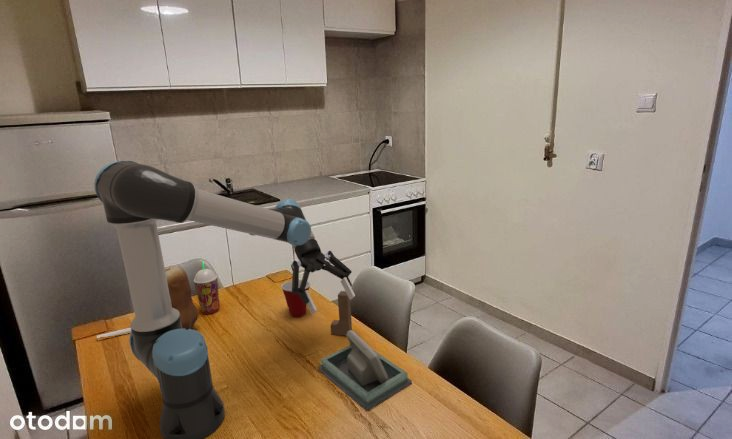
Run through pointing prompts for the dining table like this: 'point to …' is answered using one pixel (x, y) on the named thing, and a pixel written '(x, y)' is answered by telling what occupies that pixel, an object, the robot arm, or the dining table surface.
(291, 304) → the plastic cup
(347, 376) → the keeper tray
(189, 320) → the butternut squash
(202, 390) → the robot arm
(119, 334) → the marker
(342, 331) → the wooden block
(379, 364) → the digital clock
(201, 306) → the smoothie
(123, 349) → the dining table surface
